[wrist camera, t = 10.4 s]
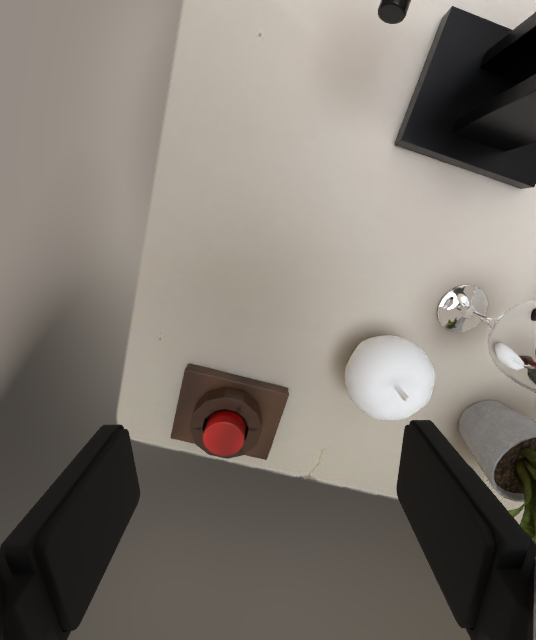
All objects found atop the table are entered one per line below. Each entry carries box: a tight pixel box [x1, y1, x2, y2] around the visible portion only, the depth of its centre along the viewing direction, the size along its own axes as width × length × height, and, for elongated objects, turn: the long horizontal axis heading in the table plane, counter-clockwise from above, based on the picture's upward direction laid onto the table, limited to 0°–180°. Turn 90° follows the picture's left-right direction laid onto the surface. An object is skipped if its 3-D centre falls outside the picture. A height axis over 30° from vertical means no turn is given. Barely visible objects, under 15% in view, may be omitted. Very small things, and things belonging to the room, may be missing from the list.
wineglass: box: [437, 285, 536, 393], centre depth 21 cm, size 6×6×12 cm
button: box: [203, 410, 245, 456], centre depth 27 cm, size 4×4×2 cm
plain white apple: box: [345, 335, 435, 420], centre depth 24 cm, size 7×7×8 cm
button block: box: [171, 364, 289, 460], centre depth 29 cm, size 10×8×3 cm
